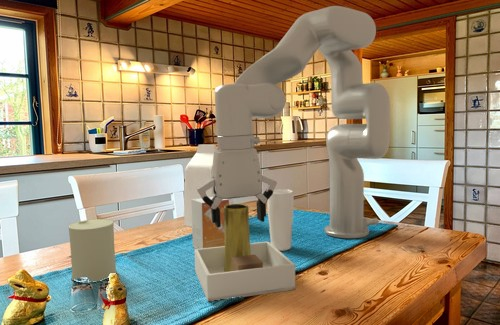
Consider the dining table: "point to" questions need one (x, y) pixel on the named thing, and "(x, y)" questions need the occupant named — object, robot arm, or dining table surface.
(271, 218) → the drinking glass
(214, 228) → the small box
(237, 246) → the vase
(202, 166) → the milk
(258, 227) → the dining table surface
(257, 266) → the walnut cube
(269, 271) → the box
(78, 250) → the can
